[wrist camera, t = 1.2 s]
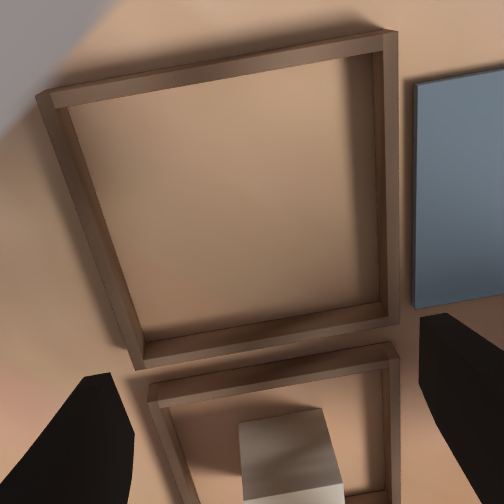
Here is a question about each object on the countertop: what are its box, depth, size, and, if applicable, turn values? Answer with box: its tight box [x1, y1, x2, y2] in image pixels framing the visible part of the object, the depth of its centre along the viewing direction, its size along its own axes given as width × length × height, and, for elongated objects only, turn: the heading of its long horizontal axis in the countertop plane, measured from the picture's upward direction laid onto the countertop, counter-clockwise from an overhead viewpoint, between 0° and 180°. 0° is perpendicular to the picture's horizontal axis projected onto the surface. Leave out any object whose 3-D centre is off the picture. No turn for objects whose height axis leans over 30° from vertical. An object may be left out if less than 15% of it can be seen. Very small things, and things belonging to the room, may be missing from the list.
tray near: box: [35, 29, 400, 371], centre depth 19 cm, size 12×12×1 cm
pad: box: [412, 68, 504, 310], centre depth 20 cm, size 7×10×1 cm
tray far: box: [147, 342, 401, 504], centre depth 25 cm, size 12×12×1 cm
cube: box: [238, 408, 345, 504], centre depth 24 cm, size 4×4×4 cm
